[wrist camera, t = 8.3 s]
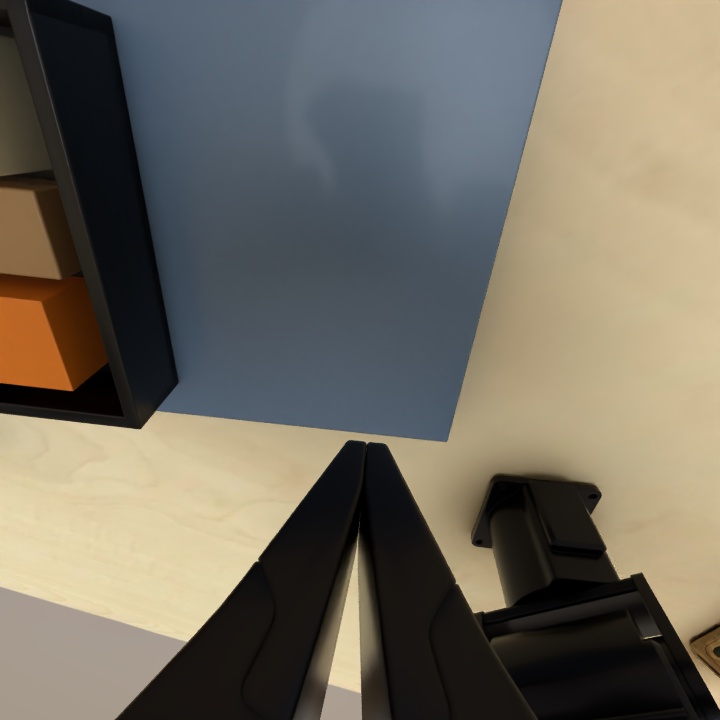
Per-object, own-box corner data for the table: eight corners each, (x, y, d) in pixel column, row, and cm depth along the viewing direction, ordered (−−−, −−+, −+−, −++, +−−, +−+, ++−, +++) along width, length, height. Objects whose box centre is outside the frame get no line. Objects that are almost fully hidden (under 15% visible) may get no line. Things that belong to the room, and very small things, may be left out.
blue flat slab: (443, 418, 22) (448, 446, 20) (25, 373, 22) (-10, 397, 20) (548, -13, 13) (577, -39, 11) (-171, -75, 13) (-270, -110, 11)
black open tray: (179, 383, 19) (141, 430, 16) (2, 363, 20) (-68, 406, 17) (111, 16, 12) (20, -20, 9) (-170, -13, 12) (-350, -57, 9)
